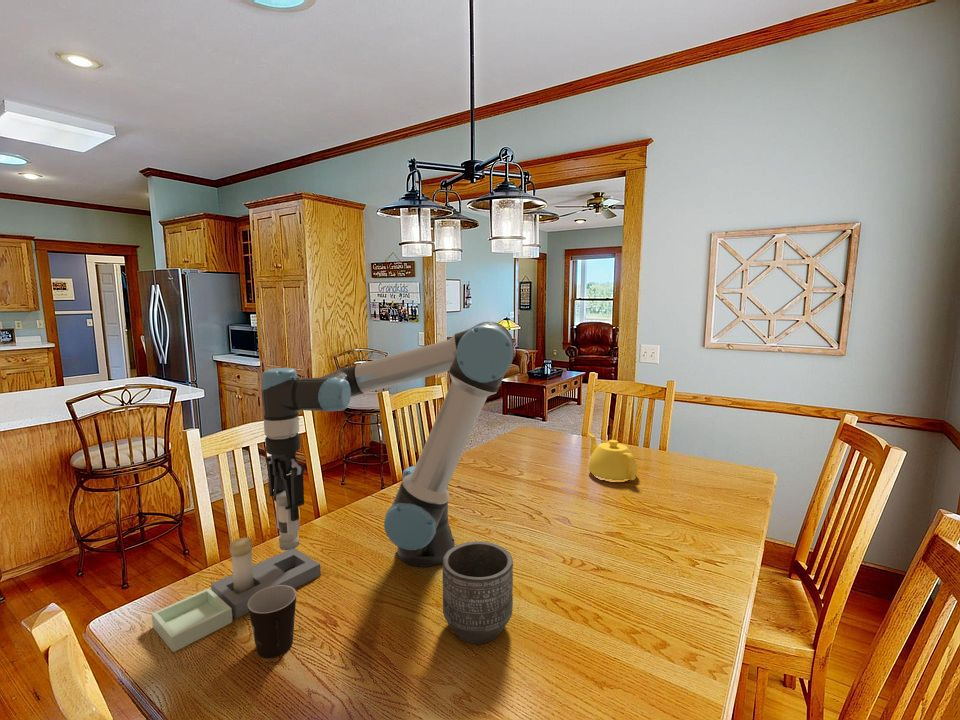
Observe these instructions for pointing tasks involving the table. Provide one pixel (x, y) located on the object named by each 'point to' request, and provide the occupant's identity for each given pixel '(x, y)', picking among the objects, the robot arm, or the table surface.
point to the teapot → (611, 460)
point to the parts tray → (191, 619)
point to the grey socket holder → (261, 574)
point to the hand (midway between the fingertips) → (288, 528)
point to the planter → (477, 590)
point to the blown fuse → (285, 525)
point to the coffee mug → (273, 619)
